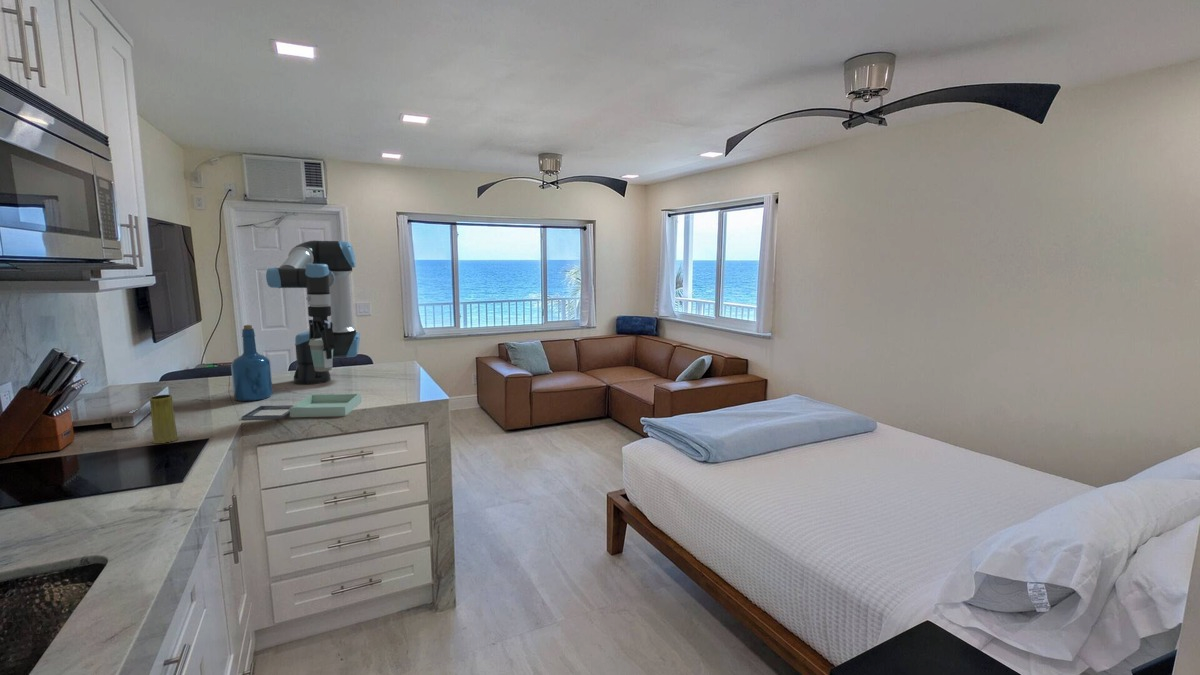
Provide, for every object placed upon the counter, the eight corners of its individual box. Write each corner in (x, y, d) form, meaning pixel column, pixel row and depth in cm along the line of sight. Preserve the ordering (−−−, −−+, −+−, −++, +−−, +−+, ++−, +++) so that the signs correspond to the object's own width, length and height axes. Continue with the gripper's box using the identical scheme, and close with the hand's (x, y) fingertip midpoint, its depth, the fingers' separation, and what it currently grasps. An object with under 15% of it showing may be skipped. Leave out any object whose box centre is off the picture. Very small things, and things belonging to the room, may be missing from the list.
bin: (311, 402, 205) (310, 394, 205) (361, 401, 208) (361, 393, 207) (290, 417, 187) (289, 408, 186) (345, 416, 189) (345, 406, 189)
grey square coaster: (261, 408, 196) (260, 405, 196) (300, 407, 199) (299, 405, 198) (241, 419, 183) (241, 417, 183) (283, 418, 185) (283, 416, 185)
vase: (182, 439, 163) (177, 395, 161) (159, 445, 157) (154, 400, 155) (171, 436, 166) (167, 393, 163) (148, 442, 160) (143, 397, 158)
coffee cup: (333, 366, 201) (331, 336, 199) (338, 370, 194) (336, 339, 192) (308, 369, 195) (306, 338, 193) (312, 373, 189) (310, 341, 187)
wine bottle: (273, 399, 209) (267, 326, 204) (233, 404, 201) (226, 328, 197) (272, 391, 220) (266, 322, 215) (234, 395, 212) (227, 324, 208)
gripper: (296, 304, 194) (300, 363, 198) (322, 308, 182) (325, 371, 185) (317, 303, 200) (320, 360, 203) (343, 307, 188) (346, 368, 191)
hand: (323, 365), depth 194 cm, fingers closed on coffee cup, 8 cm apart
